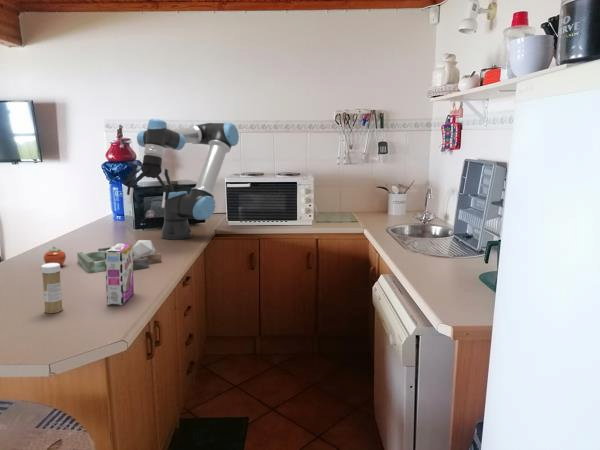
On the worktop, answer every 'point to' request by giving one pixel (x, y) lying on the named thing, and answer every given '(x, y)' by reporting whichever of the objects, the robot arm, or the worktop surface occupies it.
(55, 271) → the sprinkles bottle
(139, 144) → the robot arm
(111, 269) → the candy bar box
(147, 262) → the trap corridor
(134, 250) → the die
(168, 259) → the worktop surface
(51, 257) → the tomato
